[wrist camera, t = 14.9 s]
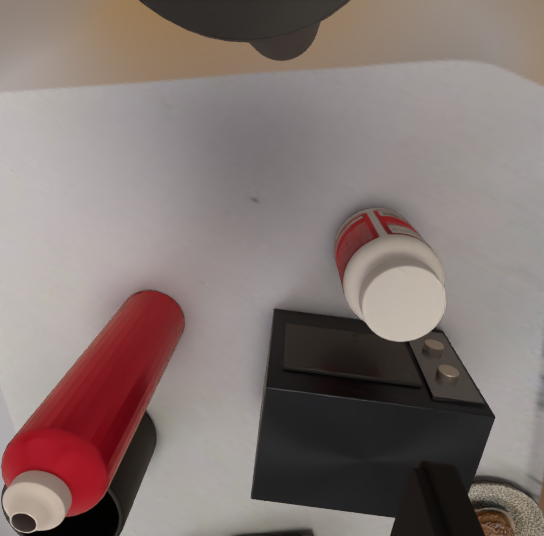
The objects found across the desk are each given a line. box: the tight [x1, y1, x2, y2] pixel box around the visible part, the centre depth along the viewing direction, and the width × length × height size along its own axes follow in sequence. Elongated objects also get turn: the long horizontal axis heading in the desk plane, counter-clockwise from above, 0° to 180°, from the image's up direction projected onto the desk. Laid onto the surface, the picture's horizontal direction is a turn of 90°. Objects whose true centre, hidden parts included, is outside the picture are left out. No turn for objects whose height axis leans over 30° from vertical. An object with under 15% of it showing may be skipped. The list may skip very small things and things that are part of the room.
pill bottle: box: [334, 208, 446, 342], centre depth 31 cm, size 6×6×11 cm
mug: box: [1, 413, 156, 536], centre depth 39 cm, size 9×12×9 cm
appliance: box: [251, 309, 495, 518], centre depth 35 cm, size 10×14×11 cm
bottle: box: [1, 291, 185, 533], centre depth 30 cm, size 5×5×20 cm
